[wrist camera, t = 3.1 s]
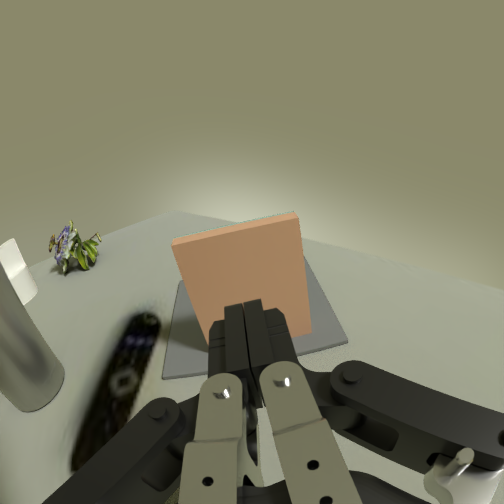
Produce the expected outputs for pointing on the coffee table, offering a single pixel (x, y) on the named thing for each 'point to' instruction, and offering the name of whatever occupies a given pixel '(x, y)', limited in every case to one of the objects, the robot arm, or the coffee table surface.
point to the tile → (246, 269)
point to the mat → (196, 348)
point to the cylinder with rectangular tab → (17, 271)
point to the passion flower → (73, 248)
